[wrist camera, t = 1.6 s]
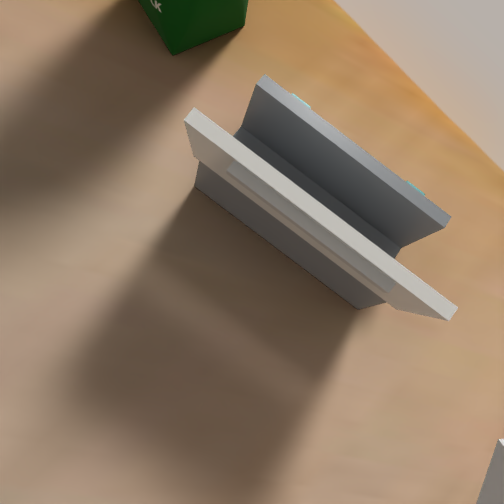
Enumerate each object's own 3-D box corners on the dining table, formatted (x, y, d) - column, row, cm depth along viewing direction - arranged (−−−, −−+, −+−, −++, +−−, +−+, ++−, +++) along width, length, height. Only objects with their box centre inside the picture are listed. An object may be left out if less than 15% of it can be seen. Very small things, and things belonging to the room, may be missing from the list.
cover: (201, 146, 29) (187, 163, 29) (194, 107, 22) (176, 130, 22) (403, 299, 30) (390, 317, 30) (458, 307, 23) (441, 330, 23)
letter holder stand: (194, 185, 36) (202, 146, 30) (249, 119, 39) (268, 69, 32) (358, 309, 37) (402, 298, 30) (403, 236, 39) (454, 211, 32)
